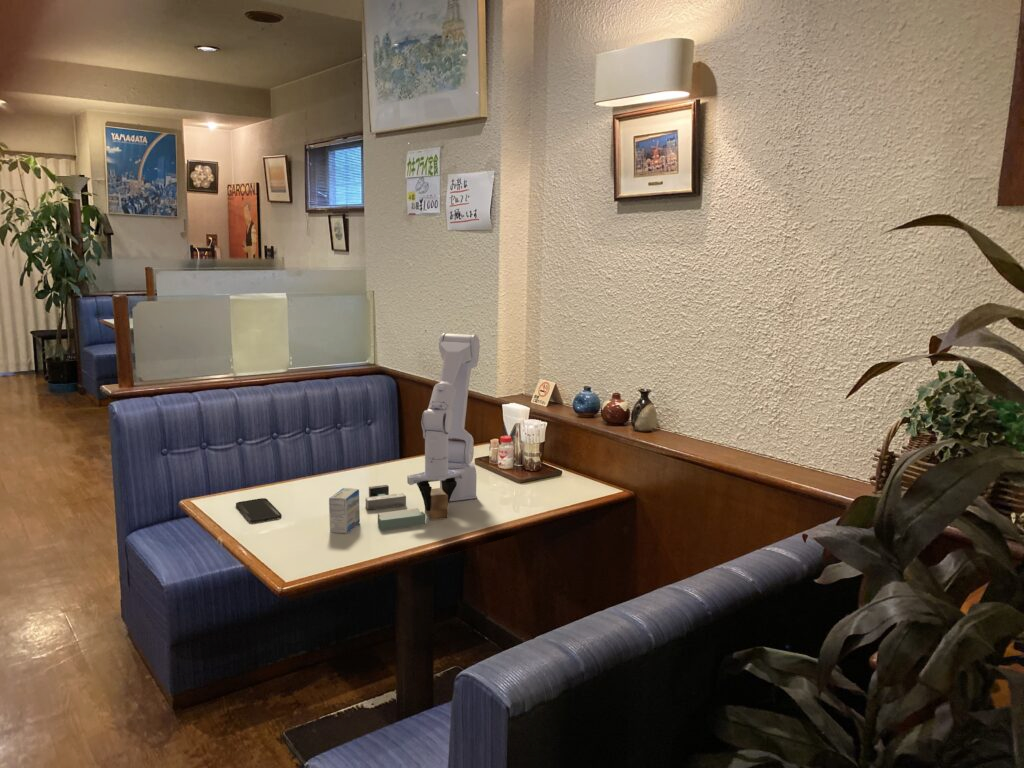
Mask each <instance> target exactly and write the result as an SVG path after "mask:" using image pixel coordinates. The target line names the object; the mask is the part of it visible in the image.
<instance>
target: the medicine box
mask: <svg viewBox="0 0 1024 768" xmlns="http://www.w3.org/2000/svg"><path fill="white" fill-rule="evenodd" d="M328 509H329V512H328V513H329V514H328V515H329V533H334V532H336V533H335V534H344V533H347V534H349V533H350V532H351V531H352V530H354V528H355V527H356V526H357V525H358V524H360V520H361V518H360V516H361V515H360V489H357V488H352V487H351V488H349V487H343V488H341V489H340V490H339V491H337V492H335V493H334V494H333V495H332V496H330V497H329V498H328ZM351 529H352V530H351ZM350 530H351V531H350ZM349 531H350V532H349Z"/></svg>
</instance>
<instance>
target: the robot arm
mask: <svg viewBox="0 0 1024 768" xmlns="http://www.w3.org/2000/svg"><path fill="white" fill-rule="evenodd" d="M438 341H439V342H438V349H439V354H440V358H441V359H442V365H441V373H440V379H439V382H438V383H436V384H435V385H434V386H433V390H432V392H431V397H430V401H429V404H428V407H427V409H425V410H424V411H423V412H422V415H421V416H422V417H421V430H422V438H423V439H424V471H422V472H418V473H415V474H409V475H407V476H406V477H407V478H406V479H407V484H408V485H409V486H412V485H416V486H417V487H418V489H419V492H420V494H421V498H422V500H423V503H424V510H425V509H426V510H427V511H430V496H431V489H433V488H432V486H431V485H430V484H431V482H439V488H441V489H442V490H443V491H444V492H445V493H446V494H447V495H448V505H450V502H457V501H464V500H472V499H473V500H474V499H477V498H478V495H477V470H476V469H477V468H476V466H475V464H474V463H473V459H474V454H475V451H474V437H473V436H472V434H471V433H469V432H468V431H467V430H466V429H465V427H466V416H467V406H468V396H469V386H470V378H471V372H472V369H474V368H475V367H477V366H478V362H479V357H480V338H479V336H478V335H477V334H475V333H473V334H464V333H447V332H443V333H442V334H441V336H440V338H439V340H438Z"/></svg>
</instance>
